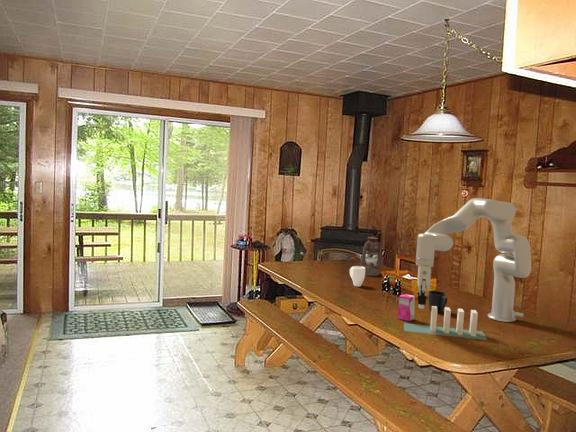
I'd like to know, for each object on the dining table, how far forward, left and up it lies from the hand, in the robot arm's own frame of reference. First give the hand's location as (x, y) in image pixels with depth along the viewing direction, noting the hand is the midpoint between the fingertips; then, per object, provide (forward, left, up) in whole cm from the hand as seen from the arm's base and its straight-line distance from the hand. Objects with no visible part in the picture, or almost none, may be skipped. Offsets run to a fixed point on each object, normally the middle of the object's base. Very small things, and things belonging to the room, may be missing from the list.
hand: (421, 302), depth 216 cm
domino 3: (-11, 0, -12) cm, 16 cm away
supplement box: (+6, -13, -12) cm, 19 cm away
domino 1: (0, 0, -2) cm, 2 cm away
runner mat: (-10, 0, -12) cm, 16 cm away
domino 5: (-22, 0, -12) cm, 25 cm away
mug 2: (+35, -78, -12) cm, 86 cm away
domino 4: (-17, 0, -12) cm, 20 cm away
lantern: (+28, -116, -12) cm, 120 cm away
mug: (-10, -33, -12) cm, 37 cm away
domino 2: (-6, 0, -12) cm, 13 cm away
